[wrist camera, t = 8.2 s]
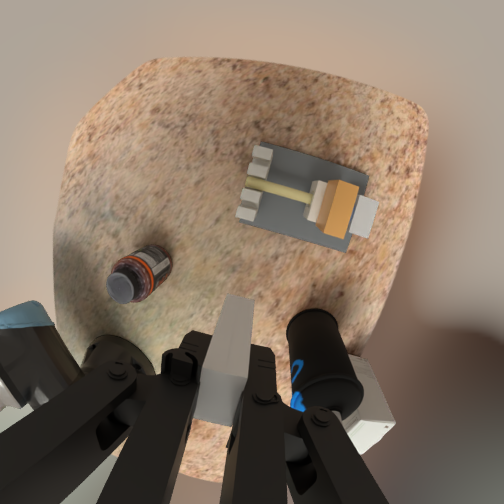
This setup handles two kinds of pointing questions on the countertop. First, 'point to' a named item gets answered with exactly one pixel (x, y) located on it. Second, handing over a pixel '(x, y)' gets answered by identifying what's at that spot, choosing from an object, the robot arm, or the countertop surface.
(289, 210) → the cord board
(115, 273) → the supplement bottle
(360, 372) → the skincare box
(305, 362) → the aerosol can
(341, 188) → the sleeve
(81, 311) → the countertop surface
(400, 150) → the countertop surface
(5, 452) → the robot arm
